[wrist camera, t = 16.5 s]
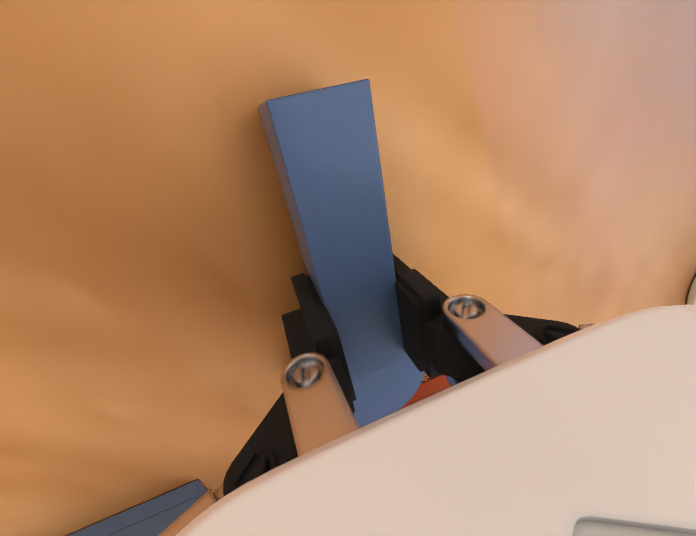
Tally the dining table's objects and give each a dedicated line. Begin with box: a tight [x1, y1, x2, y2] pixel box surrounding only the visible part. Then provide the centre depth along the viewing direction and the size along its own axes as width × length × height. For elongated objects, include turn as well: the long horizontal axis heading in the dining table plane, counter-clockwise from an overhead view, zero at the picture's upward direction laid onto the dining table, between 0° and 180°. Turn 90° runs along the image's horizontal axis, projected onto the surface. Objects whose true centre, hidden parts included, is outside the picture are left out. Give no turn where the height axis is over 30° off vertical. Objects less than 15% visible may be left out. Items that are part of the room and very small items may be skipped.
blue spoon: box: [258, 79, 425, 427], centre depth 11 cm, size 14×5×3 cm, turn 12°
